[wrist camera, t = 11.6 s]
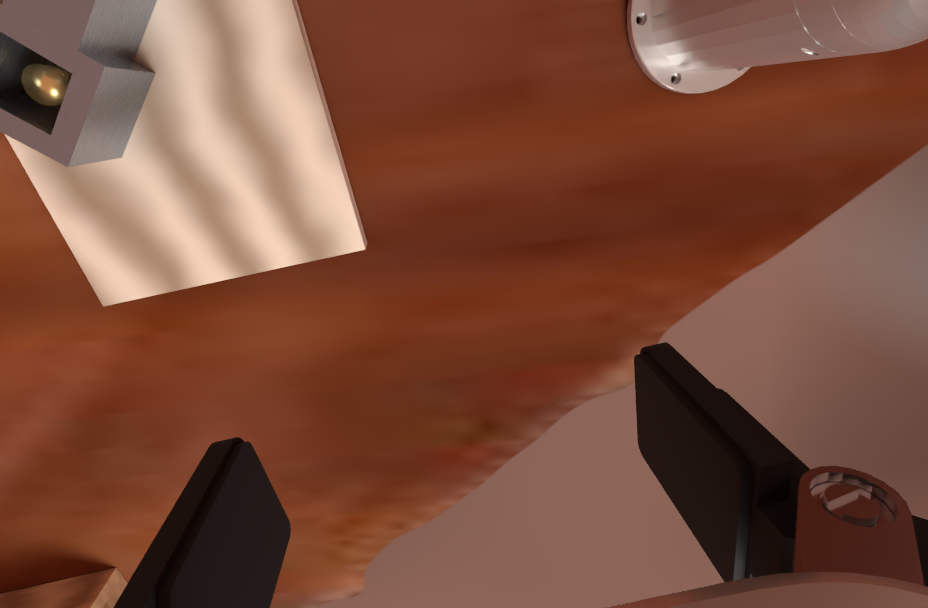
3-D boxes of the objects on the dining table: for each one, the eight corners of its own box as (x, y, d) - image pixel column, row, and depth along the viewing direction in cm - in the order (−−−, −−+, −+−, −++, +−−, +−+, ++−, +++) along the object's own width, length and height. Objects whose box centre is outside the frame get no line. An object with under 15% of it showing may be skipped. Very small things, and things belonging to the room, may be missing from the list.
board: (225, -244, 29) (212, -268, 27) (367, 243, 42) (365, 249, 40) (-143, -170, 28) (-181, -189, 26) (116, 297, 41) (103, 306, 39)
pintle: (110, 67, 34) (51, 60, 29) (126, 102, 35) (71, 101, 30) (79, 74, 34) (13, 68, 29) (95, 108, 35) (35, 109, 30)
